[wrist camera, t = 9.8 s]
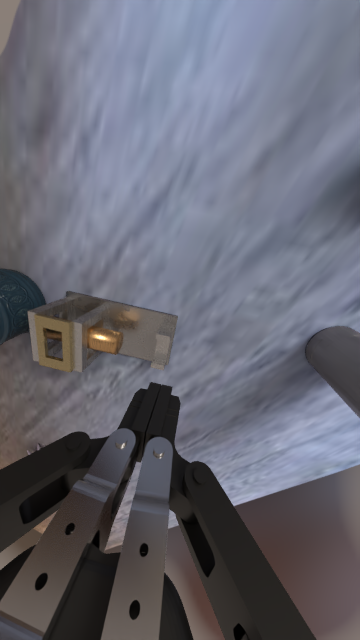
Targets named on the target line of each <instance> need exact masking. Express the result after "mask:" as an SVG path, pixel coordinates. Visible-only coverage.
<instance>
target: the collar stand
mask: <svg viewBox="0 0 360 640" xmlns="http://www.w3.org/2000/svg"><path fill="white" fill-rule="evenodd" d="M66 294H67V297H66V298H63V299H60V300H57V301H54V302H51V303H49V304H46V305H43V306H40V307H37V308H35V309H32V310H29V311H28V320H29V328H30V336H31V345H32V353H33V361H37V362H39V365H42V366H46V367H50V368H54V369H58V370H63V371H67V372H72V371H73V370H74V371H78V372H83V371H84V370H85V369H86V368H87V367H88V366H89V365H90V364H91V363H92V362H93V361H94V360H95V359H96V358H97V357H98V356H99V355H100V354H101V353H102V351H98V350H94V349H90V348H89V349H88V350H87V329H88V328H90V327H91V326H97V327H101V328H105V329H109V330H114V331H118V332H122V333H123V335H124V338H123V344H122V347H121V349H120V351H119V353H120V354H124V355H128V356H132V357H136V358H141V359H145V360H149V361H152V363H151V367H152V368H156V369H160V370H164V367H165V365H168V362H169V357H170V353H171V348H172V343H173V338H174V333H175V328H176V324H177V319H178V316H176V315H171V314H167V313H162V312H158V311H154V310H149V309H145V308H141V307H136V306H132V305H128V304H123V303H119V302H115V301H110V300H106V299H101V298H97V297H93V296H88V295H84V294H80V293H75V292H71V291H67V292H66ZM58 313H59V316H60V318H63V319H67V320H63V319H59V318H55V317H52V316H54V315H56V314H58ZM68 320H71V321H68ZM46 328H47V329H51V330H55V331H60V332H62V342H61V341H57V340H53V341H51V342H50V343H48V342H47V330H46ZM62 348H63V359H61V358H57V357H53V355H54V354H55V353H57V352H58V351H60V350H61V349H62Z"/></svg>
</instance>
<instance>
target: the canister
mask: <svg viewBox="0 0 360 640" xmlns="http://www.w3.org/2000/svg"><path fill="white" fill-rule="evenodd" d="M43 305H46V303H45V299H44V297H43V294H42V293H41V291H40V289H39V288H38V287H37V285H36V284H35V283H34V282H33V281H32V280H31V279H30V278H28V277H27V276H26V275H24V274H22V273H20V272H18V271H14V270H7V269H0V345H1V344H3V343H4V342H6V341H8V340H10V339H12V338H14V337H16V336H18V335H21V334H23V333H27V332H29V331H30V328H29V320H28V311H29V310H32V309H35V308H37V307H40V306H43Z"/></svg>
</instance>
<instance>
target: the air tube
mask: <svg viewBox="0 0 360 640" xmlns="http://www.w3.org/2000/svg"><path fill="white" fill-rule="evenodd" d="M52 317H54V316H52ZM55 318H58V317H55ZM59 319H63V318H59ZM63 320H67V319H63ZM68 321H71V320H68ZM46 330H47V338H48V339H53V340H57V341H61V342H62V332H60V331H55V330H51V329H47V328H46ZM123 338H124V335H123V333H122V332H118V331H114V330H109V329H105V328H101V327H97V326H91V327H90V328H88V329H87V348H90V349H94V350H98V351H102V352H106V353H111V354H115V355H116V354H118V353H119V351H120V349H121V347H122V344H123Z"/></svg>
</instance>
